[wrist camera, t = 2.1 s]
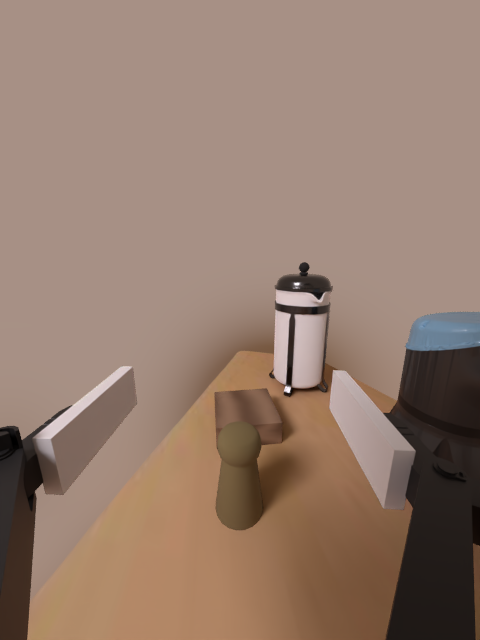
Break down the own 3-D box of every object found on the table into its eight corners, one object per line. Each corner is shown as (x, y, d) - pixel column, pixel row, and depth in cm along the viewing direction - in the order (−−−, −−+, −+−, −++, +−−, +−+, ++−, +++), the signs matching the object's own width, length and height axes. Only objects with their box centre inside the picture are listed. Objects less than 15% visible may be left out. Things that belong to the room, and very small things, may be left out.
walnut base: (266, 405, 51) (266, 388, 50) (281, 442, 40) (282, 422, 39) (215, 409, 50) (214, 392, 49) (217, 449, 39) (216, 428, 38)
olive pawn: (210, 526, 28) (207, 447, 25) (220, 480, 33) (219, 412, 31) (262, 533, 27) (264, 452, 24) (263, 485, 33) (265, 415, 30)
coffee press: (336, 378, 63) (348, 262, 55) (315, 407, 50) (328, 262, 43) (277, 362, 73) (281, 262, 65) (248, 383, 60) (249, 262, 53)
